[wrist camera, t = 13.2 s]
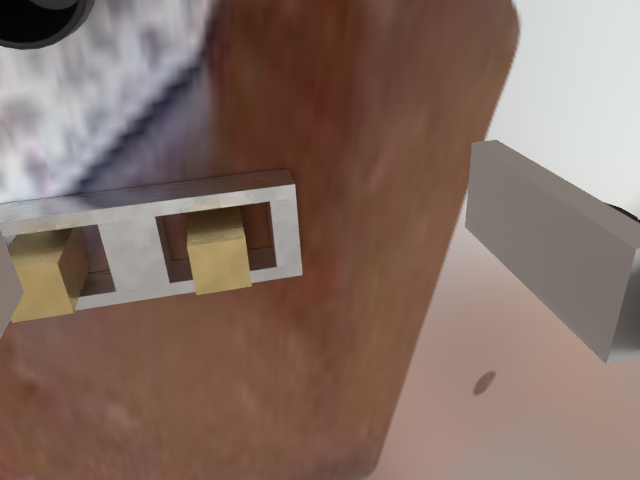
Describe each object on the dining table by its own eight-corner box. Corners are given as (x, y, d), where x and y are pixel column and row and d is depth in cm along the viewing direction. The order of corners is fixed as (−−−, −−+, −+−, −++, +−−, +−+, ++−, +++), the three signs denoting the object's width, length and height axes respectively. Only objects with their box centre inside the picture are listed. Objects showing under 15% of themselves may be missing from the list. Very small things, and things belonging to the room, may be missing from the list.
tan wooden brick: (22, 225, 46) (-9, 272, 39) (77, 218, 46) (57, 263, 39) (38, 270, 48) (12, 322, 41) (91, 262, 48) (73, 313, 41)
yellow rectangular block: (188, 205, 48) (186, 246, 41) (238, 199, 49) (245, 238, 42) (196, 249, 50) (196, 295, 43) (244, 242, 51) (251, 286, 44)
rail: (-48, 209, 44) (-69, 230, 40) (287, 168, 48) (295, 184, 45) (-10, 299, 48) (-26, 326, 44) (295, 254, 52) (302, 275, 49)
